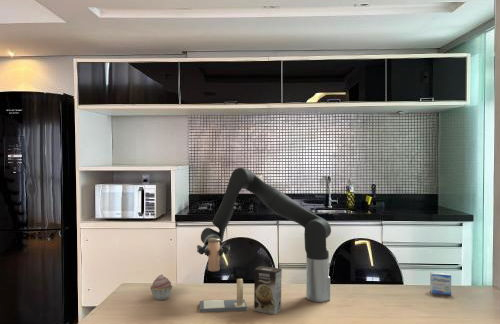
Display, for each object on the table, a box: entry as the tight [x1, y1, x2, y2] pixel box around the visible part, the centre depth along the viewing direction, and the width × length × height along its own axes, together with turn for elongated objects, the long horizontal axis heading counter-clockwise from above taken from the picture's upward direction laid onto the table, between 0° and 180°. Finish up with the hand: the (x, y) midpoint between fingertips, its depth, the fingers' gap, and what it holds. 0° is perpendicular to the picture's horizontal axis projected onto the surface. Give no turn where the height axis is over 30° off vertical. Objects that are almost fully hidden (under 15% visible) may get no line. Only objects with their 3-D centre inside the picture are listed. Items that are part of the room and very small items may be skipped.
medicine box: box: [429, 271, 452, 296], centre depth 175 cm, size 8×4×9 cm, turn 73°
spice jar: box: [207, 238, 221, 272], centre depth 157 cm, size 5×5×12 cm
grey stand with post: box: [199, 278, 248, 313], centre depth 157 cm, size 18×9×11 cm, turn 97°
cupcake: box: [149, 274, 173, 301], centre depth 167 cm, size 9×9×10 cm
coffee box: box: [253, 265, 283, 315], centre depth 153 cm, size 9×6×16 cm
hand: (214, 253), depth 154 cm, fingers closed on spice jar, 4 cm apart
